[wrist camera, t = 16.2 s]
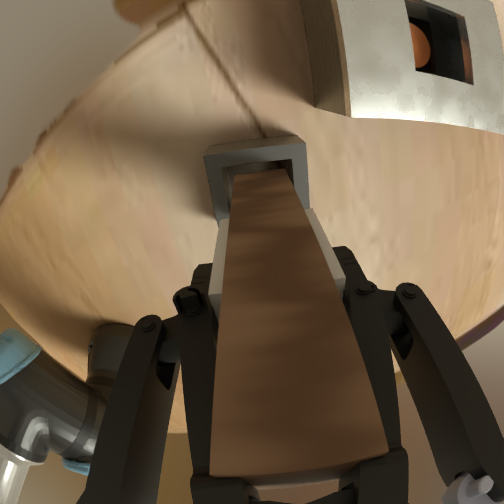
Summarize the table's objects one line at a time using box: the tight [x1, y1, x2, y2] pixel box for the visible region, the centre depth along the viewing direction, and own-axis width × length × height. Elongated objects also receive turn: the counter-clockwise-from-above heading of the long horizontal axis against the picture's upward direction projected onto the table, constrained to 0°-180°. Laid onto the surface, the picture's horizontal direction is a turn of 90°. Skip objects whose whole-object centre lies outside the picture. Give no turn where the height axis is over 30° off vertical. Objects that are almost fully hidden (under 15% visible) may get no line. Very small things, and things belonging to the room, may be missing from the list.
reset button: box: [409, 23, 430, 68], centre depth 16 cm, size 4×4×4 cm
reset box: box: [300, 0, 504, 134], centre depth 14 cm, size 16×13×9 cm
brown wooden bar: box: [209, 169, 389, 490], centre depth 14 cm, size 4×4×20 cm
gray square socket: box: [204, 135, 310, 228], centre depth 24 cm, size 8×8×4 cm
